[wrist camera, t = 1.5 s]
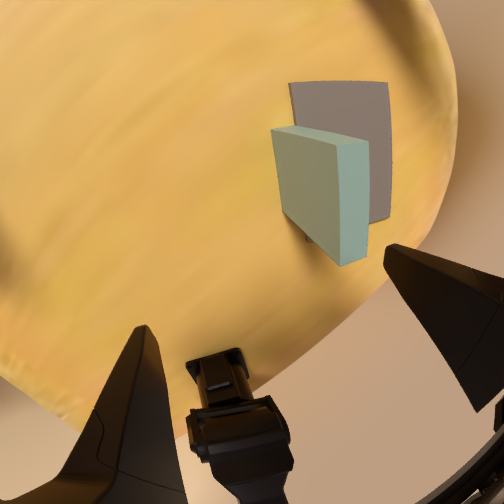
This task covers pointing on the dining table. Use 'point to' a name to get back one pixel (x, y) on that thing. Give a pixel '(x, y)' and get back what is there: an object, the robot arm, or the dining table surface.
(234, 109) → the dining table surface
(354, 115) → the mat
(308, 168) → the tile
